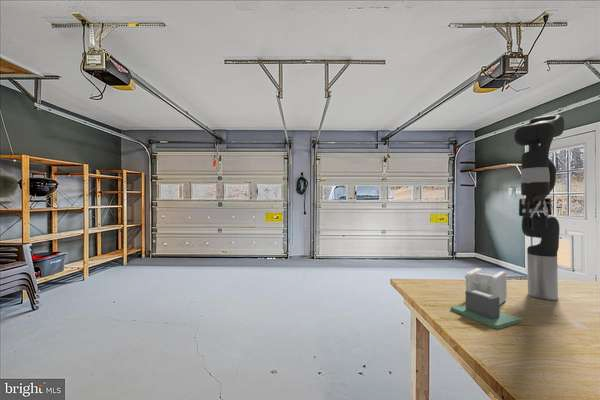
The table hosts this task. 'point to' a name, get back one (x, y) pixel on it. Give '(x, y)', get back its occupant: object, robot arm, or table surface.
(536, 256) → the robot arm
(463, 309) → the board
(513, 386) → the table surface
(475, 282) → the white socket shroud
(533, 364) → the table surface
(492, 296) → the block
